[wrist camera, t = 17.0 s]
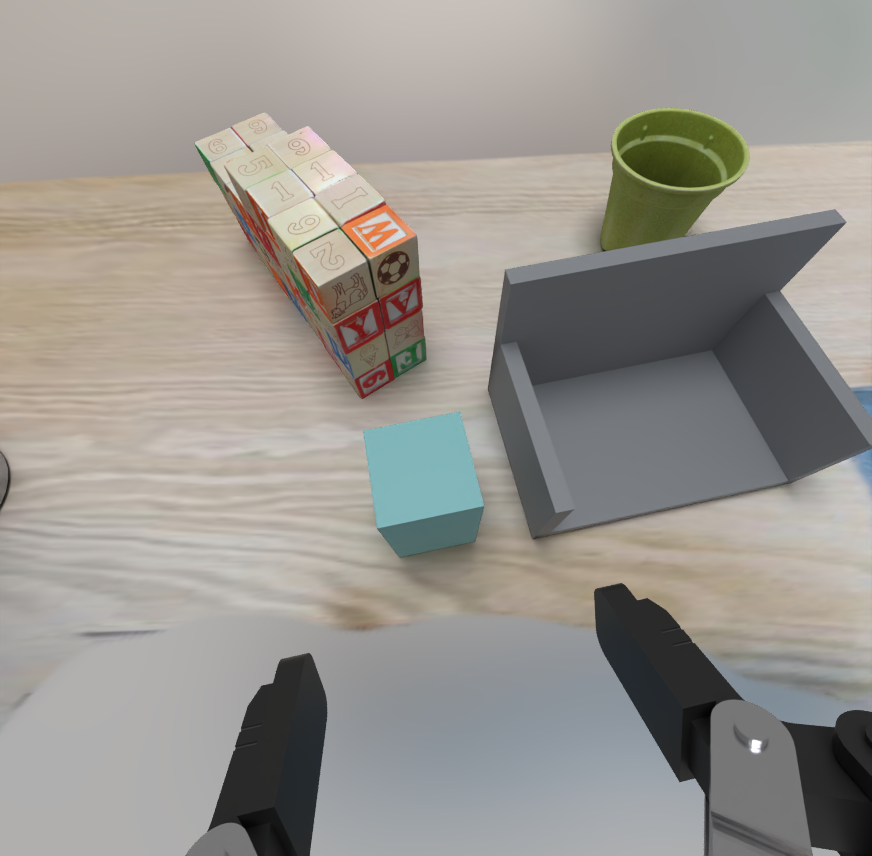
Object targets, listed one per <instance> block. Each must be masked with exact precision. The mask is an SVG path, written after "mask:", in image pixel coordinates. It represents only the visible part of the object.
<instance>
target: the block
mask: <svg viewBox="0 0 872 856" xmlns="http://www.w3.org/2000/svg"><path fill="white" fill-rule="evenodd" d="M363 433H364V440H365V447H366V454H367V461H368V468H369V475H370V482H371V489H372V496H373V503H374V510H375V517H376V524H377V529H378V530H379V532H380V533H381V534H382V535H383V537H384V538H385V539H386V541H387V542H388V543H389V544H390V546H391V547H392V548H393V550H394V551H395V552H396V553H397V555H398V556H399V557H404V556H409V555H414V554H418V553H423V552H428V551H432V550H437V549H442V548H446V547H451V546H456V545H460V544H465V543H470V542H474V541H475V540H476V536H477V532H478V528H479V524H480V520H481V516H482V513H483V509H484V503H483V499H482V495H481V492H480V488H479V484H478V480H477V476H476V472H475V468H474V464H473V460H472V456H471V452H470V449H469V445H468V441H467V437H466V433H465V429H464V425H463V421H462V417H461V413H460V412H456V413H451V414H446V415H441V416H436V417H431V418H426V419H420V420H415V421H410V422H405V423H400V424H395V425H390V426H385V427H380V428H375V429H370V430H365V431H363Z"/></svg>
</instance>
